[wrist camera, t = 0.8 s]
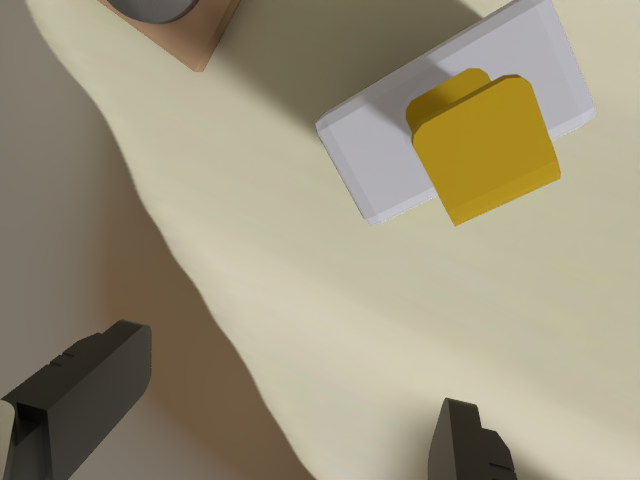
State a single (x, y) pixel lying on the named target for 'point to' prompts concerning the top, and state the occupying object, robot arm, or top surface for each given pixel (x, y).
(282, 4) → the top surface
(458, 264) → the top surface
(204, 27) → the walnut board
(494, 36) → the soap bottle
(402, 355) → the top surface
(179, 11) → the graphite hub
